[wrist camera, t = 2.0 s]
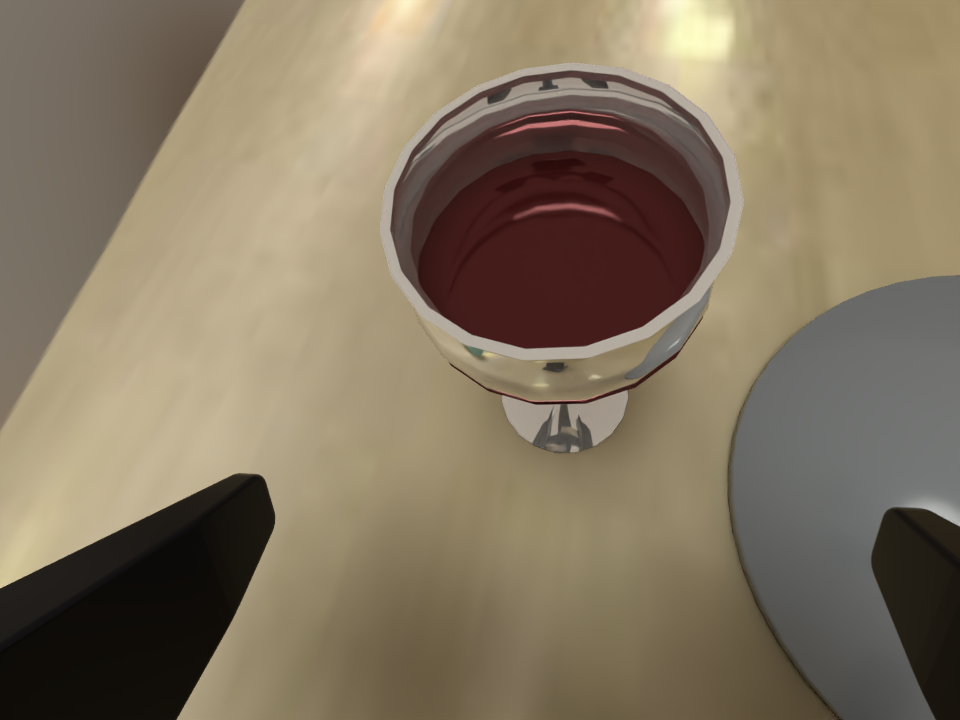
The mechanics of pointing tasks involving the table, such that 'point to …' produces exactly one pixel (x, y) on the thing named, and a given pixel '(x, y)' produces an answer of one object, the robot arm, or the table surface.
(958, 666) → the robot arm
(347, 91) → the table surface
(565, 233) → the wineglass
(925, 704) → the slate plate
